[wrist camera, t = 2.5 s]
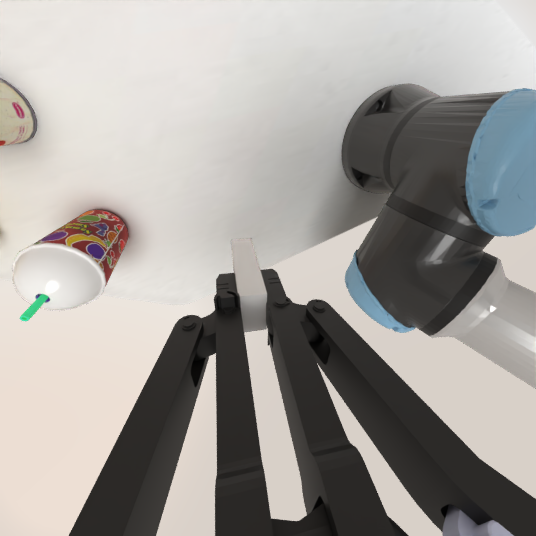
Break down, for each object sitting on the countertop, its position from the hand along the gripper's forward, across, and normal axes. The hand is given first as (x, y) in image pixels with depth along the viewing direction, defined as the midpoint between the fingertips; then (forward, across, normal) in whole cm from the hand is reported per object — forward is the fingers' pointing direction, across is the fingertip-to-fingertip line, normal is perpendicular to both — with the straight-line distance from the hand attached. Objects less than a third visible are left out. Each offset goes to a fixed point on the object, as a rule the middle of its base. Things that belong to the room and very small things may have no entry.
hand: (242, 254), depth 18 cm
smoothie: (+23, +20, +6) cm, 31 cm away
